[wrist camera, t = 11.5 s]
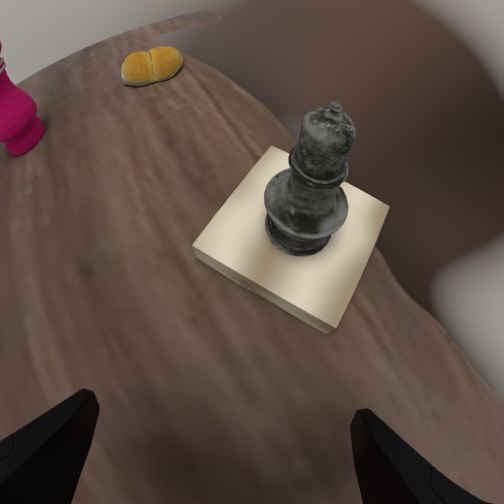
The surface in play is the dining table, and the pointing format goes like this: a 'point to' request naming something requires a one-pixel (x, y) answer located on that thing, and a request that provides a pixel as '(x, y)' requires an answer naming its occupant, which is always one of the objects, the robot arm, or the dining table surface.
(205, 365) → the dining table surface
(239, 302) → the dining table surface
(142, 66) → the bread roll
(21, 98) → the pepper mill
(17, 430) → the robot arm
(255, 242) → the plate
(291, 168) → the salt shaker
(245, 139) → the dining table surface
